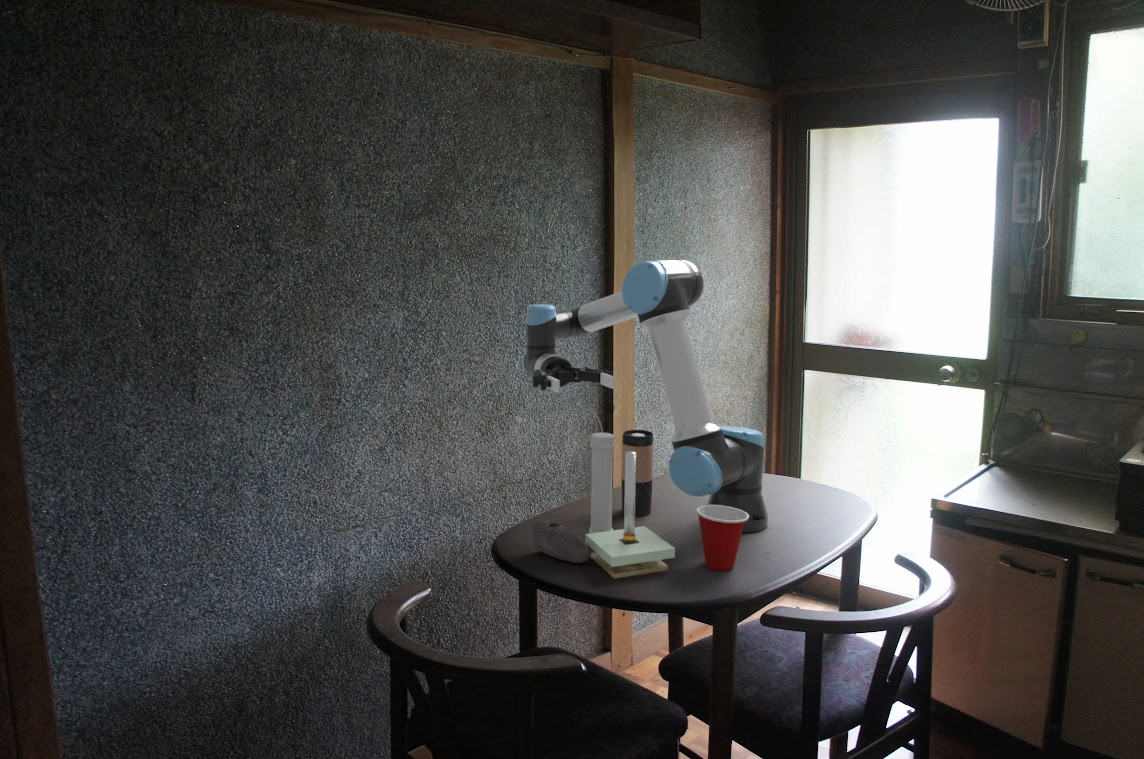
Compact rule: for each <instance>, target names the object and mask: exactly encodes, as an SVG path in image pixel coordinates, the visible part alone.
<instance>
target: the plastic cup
mask: <svg viewBox="0 0 1144 759" xmlns="http://www.w3.org/2000/svg"><path fill="white" fill-rule="evenodd" d="M695 512H696V513H697V516H698V521H699V527H700V528H699V529H700V535H701V536H700V537H701V545H702V550H703V551H702V552H703V555H704V556H703V557H704V563H705V566H706V567H707V568H708V569H710V570H712V571H715V572H717V571H718V572H727V571H731V570H733V569H734V567H735V563H736V558H737V554H738V552H739V547H740V543H741V540H742V539H741V538H742V531H743V528H744V525H745V523H746V521H747V520H748V518H749V515H748V514H747V513H746V512H744V511H742V510H740V509H737V508H733V507H729V506H722V505H705V504H703V505H700V506H698V507H697V508H696V509H695Z"/></svg>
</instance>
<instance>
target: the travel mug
mask: <svg viewBox="0 0 1144 759" xmlns="http://www.w3.org/2000/svg"><path fill="white" fill-rule="evenodd" d="M621 442H622V443H621V444H622V446H621V448H622V450H621V452H622V453H621V510H622V511H621V512H622V513H623V514H624V505H625V452H627V451H634V452H636V487H635V517H645V516H648V515H650V514H651V512H652V495H653V483H654V482H653V479H654V478H653V477H654V475H653V474H654V470H653V469H654V433H653V432H652V431H649V430H645V429H644V430H643V429H629V430H625V431H624V432H623V434H622V441H621Z"/></svg>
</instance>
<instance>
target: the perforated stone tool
mask: <svg viewBox="0 0 1144 759" xmlns="http://www.w3.org/2000/svg"><path fill="white" fill-rule="evenodd" d="M531 541H532V544H533V546H534V547H535V548H536V549H537V550H539V552H542V553H543V554H545V555H547V556H549V557H551V558H555V559H558V560H561V561H565V562H569V563H572V564H573V563H575V564H584V563H585V562H586V561H588V559H589V556H590V550H589V546H588V545H587V544H586V543H585V539H583V538H582V537H581V536H580V535H579V534H577V533H576V532H574V531H573V530H571V529H570V528H568V527H565V526H564V525H562V524H560V523H557V522H554V521H551V520H548V519H541V520H538V521H537V522H535V523H534V524H533V526H532V533H531Z"/></svg>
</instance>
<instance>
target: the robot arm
mask: <svg viewBox="0 0 1144 759" xmlns="http://www.w3.org/2000/svg"><path fill="white" fill-rule="evenodd" d="M702 274H703V273H702V272H701V270H700V269H699V268H698V267H697V266H696V265H695V264H694V263H692V262H691V261H688V260H685V259H650V260H644V261H640V262H637V263H635V264H633V266H631V267H630V269H628V271H627V272H626V274H625V277H624V278H623V280H622V285H621V291H619V292H616V293H613V294H610V295H608V296H604V297H601V298H599V299H596V300H593V301H590V302H589V303H585V304H583V305H580V306H577V307H574V308H571V309H564V310H556V306H555V305H553V304H545V303H544V304H543V303H542V304H530V305H528V307H527V310H526V320H525V322H526V352H525V353H524V354H523V356H522V360H521V363H522V364H521V366H522V368H523V370H524V371H525V372H526V374H528V375H529V376H530V377H531V378H532V387H533V388H538V387H539V386H540V390H541V391H547V390H546V389H549V390H550V391H553V392H555V393H560V390H561V388H563V387H565V386H567V385H568V384H570V383H582V382H589V383H590V382H591V383H599V384H600V385H602V386H604V387H606V388H609V389H612V390H613V389H616V388H615V385H616V384H615V382H616V381H615V380H616V379H615V376H614V375H613V374H614V373H613V371H611V370H609V371H608V369H595V368H589V367H586V366H583V367H582V368H581V367H573V366H572V365H571V362H570V361H568V359H566V358H564V357H561V356H559V355H557V354H556V345H557V344H556V341H557V340H563V339H571V338H582V337H586V336H590V335H591V334H592V333H593V332H595V331H598V330H601V329H605V328H608V327H611V326H615V325H617V324H618V325H619V324H620V323H624V322H627V321H630V320H633V319H636V318H638V321H639V325H640V326H641V327H643V328H645V329H646V330H648V333H649V335H650V340H651V343H652V347H653V352H654V354H655V358H656V362H657V365H658V369H659V370H658V371H659V372H660V377H661V380H662V384H663V388H664V393H665V395H666V400H667V403H668V407H669V409H670V410H669V411H670V414H671V418H672V421H673V424H674V429H675V434H674V436H673V437H672V439H671V444H672V447H673V452H672V454H671V455H670V459H669V460H668V472H669V476H670V478H671V480H672V482H673V484H674V485H675V486H676V487H677V489H679V491H682V492H683V493H684V494H686V495H689V496H691V497H696V498H697V497H698V498H699V497H705V496H709V497H708V500H707V502H706V505H722V506H729V507H733V508H737V509H740V510H742V511H744V512H746V513H747V514H748V515H749V518H748V520H747V521H746V523H745V525H744V528H743V531H742V533H743V534H744V533H755V532H759V531H763V530H765V529H766V528H767V527H768V524H769V513H768V510H767V508H766V504H765V501H764V496H763V492H762V491H763V489H762V487H763V470H764V469H763V468H764V453H765V452H764V451H765V445H764V439H765V437H764V434H763V433H762V432H761V431H759V430H757V429H752V428H747V427H739V426H732V425H731V426H730V425H720V426H719V425H717V424H716V423H715V422H714V419H713V416H712V412H711V409H710V406H709V403H708V399H707V395H706V390H705V388H704V383H703V381H702V377H701V372H700V369H699V366H698V361H697V358H696V354H695V351H694V346H693V344H692V340H691V336H690V333H689V332H690V331H689V328H688V325H687V324H688V323H687V321H686V320H687V317H688V316H689V315H690V312H691V310H690V307H691V306H693V305H694V304H696V303H697V301H698V300H700V298H701V296H702V295H703V292H704V288H705V286H704V284H705V283H704V282H705V281H704V277H703V275H702Z"/></svg>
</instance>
